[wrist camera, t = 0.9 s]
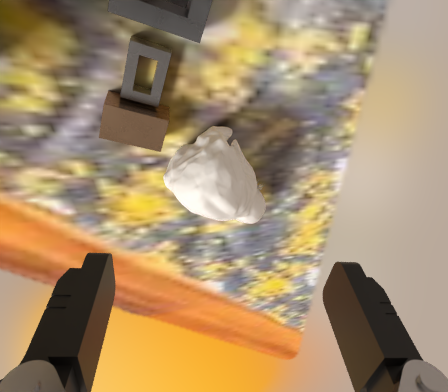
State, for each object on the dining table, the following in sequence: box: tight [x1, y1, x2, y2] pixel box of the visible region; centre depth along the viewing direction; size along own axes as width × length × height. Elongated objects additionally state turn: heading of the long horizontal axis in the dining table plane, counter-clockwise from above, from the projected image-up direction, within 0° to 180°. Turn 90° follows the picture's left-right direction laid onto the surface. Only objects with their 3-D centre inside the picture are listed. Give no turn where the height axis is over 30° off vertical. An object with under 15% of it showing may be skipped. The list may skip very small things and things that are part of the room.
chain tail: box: [99, 36, 171, 152], centre depth 26 cm, size 5×8×2 cm, turn 160°
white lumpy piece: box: [164, 126, 266, 224], centre depth 30 cm, size 6×8×12 cm
